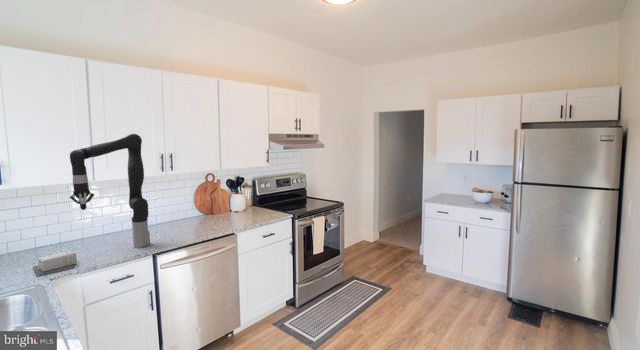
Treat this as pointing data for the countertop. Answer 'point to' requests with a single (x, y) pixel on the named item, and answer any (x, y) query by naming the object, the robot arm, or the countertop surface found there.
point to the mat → (40, 272)
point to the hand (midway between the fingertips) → (83, 209)
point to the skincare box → (57, 260)
